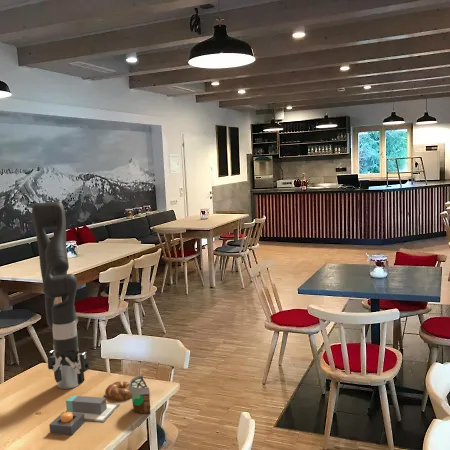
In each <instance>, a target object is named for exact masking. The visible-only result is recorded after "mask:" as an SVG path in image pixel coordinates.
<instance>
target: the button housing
mask: <svg viewBox="0 0 450 450" xmlns="http://www.w3.org/2000/svg"><path fill="white" fill-rule="evenodd" d="M65 412H66V411H65ZM65 412H64V411H62V412H61V414H63V413H65ZM61 414H59V415H58V416H57V417H56V418H55V419H54V420H53V421H52V422H50V423H49V425H48V426H49V434H55V435H65V436H73V435H74V434H75V432H77V431H78V430H79V429H80V428H81V427H82V426H83V425H84V424H85V422H86V421H85V419H84V414H78V413H72V414H73V420H72V421H71V422H70V423H61Z"/></svg>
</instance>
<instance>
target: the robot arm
mask: <svg viewBox="0 0 450 450" xmlns="http://www.w3.org/2000/svg"><path fill="white" fill-rule="evenodd" d="M31 214H32V216H31V217H32V221H33V226H34V231H35V232H34V233H35V236H36V240H37V247H38V257H39V267H40V274H41V279H42V290H43V293H44V301H45V306H44V307H45V317H46V323H47V325H48V326H47V327H49V328H50V329H51V328H52V345H53V346H52V348H53V349H51V350H50V351H48V352H47V368H48V370H52V371H53V373H54V380H55V383H57V388H58V389H60V390H67V389H68V390H69V389H74V388H76V387H78V386H79V385H82V384H83V383H84V382H85V372H86V371H89V369H90V365H89V359H88V358H89V357H88V352H87V351H84V352H79V340H78V339H79V338H78V330H77V319H76V318H77V317H76V316H77V314H76V305H75V300H76V299H75V298H76V296H77V290H78V286H79V285H78V278H77V277H76V276H75V275H74V274H72V273H68V271H69V266H70V265H69V258H68V252H67V219H66V211H65V207H64V204H63V203H62V202H61V201H50V202H49V201H48V202H39V203H35V204H33V205H32V208H31ZM49 228H56V229H55V233H54V234H53V236H52V237H51V239H50V237H49V236H48V234H47V233H46V231H45V229H49ZM61 297H62V298H63V297H66V298H65V299H64V300H63V301H62V302H59V303H58V302H57V303H55V300H56V298H61Z"/></svg>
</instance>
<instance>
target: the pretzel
mask: <svg viewBox="0 0 450 450" xmlns="http://www.w3.org/2000/svg"><path fill="white" fill-rule="evenodd" d="M129 383H130V382H128V381H115V382H113V383H112V384H109V385H108V386H107V387H106V389H105V390H104V391H105V394H104V395H105V396H106V397H107V398H108V399H112V400H115V401H122V400H125V401H126V400H129V399H132V396H131V392H130V391H129V389H128V388H129Z"/></svg>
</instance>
